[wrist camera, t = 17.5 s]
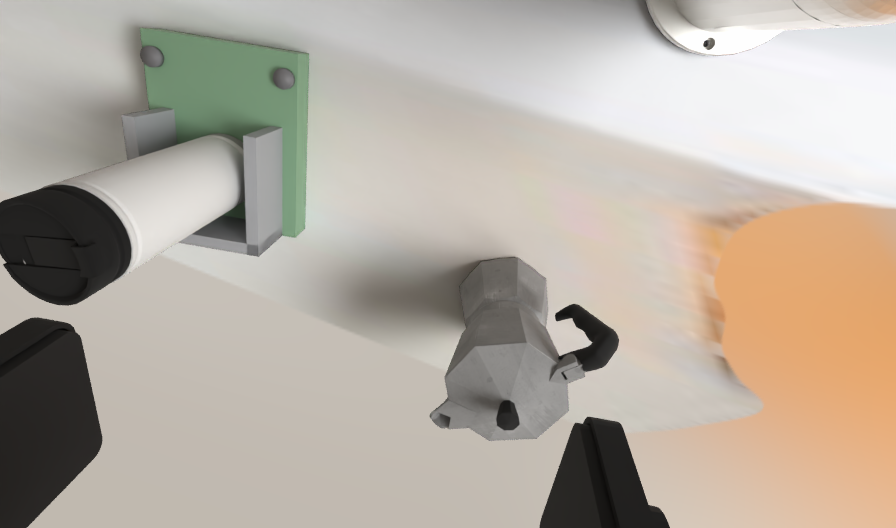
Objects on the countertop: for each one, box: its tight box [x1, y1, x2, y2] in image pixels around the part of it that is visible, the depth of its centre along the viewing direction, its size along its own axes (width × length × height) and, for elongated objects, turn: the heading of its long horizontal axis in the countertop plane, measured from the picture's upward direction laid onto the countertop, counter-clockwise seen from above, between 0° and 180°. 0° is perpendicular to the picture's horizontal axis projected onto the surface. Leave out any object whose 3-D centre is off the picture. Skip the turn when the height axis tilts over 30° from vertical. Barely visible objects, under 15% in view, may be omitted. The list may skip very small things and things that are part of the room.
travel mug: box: [0, 133, 245, 305], centre depth 34 cm, size 6×7×20 cm
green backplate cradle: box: [122, 28, 309, 257], centre depth 41 cm, size 16×13×8 cm
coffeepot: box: [430, 258, 619, 441], centre depth 40 cm, size 15×9×18 cm, turn 121°
